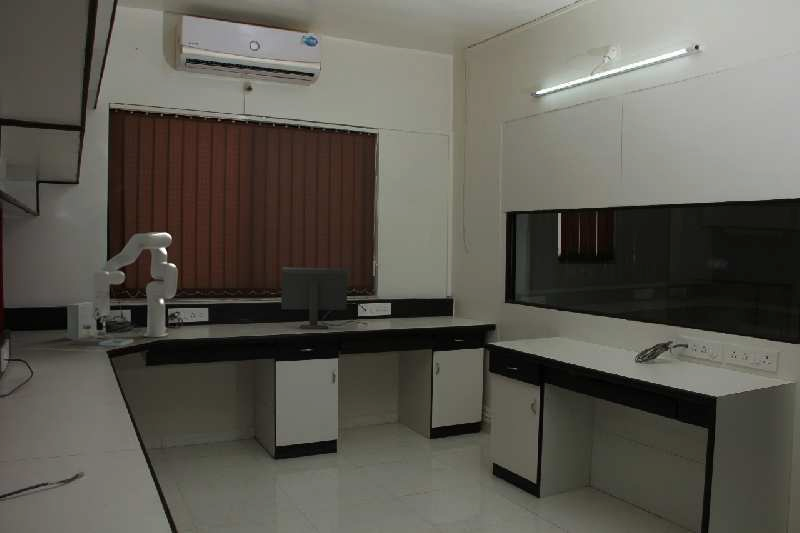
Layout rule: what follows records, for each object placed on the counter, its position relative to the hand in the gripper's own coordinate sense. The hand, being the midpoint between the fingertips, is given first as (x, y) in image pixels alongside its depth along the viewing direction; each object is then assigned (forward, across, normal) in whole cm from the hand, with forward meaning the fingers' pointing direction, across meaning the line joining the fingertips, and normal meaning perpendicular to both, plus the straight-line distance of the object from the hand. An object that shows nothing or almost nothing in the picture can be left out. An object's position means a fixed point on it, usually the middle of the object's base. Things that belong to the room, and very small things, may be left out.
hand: (101, 329), depth 326 cm
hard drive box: (+8, -14, -18) cm, 24 cm away
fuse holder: (+8, +1, -4) cm, 9 cm away
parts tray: (+8, +3, +10) cm, 13 cm away
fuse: (+7, +1, -8) cm, 10 cm away
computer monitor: (+11, -95, +95) cm, 135 cm away
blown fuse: (+3, 0, 0) cm, 3 cm away
